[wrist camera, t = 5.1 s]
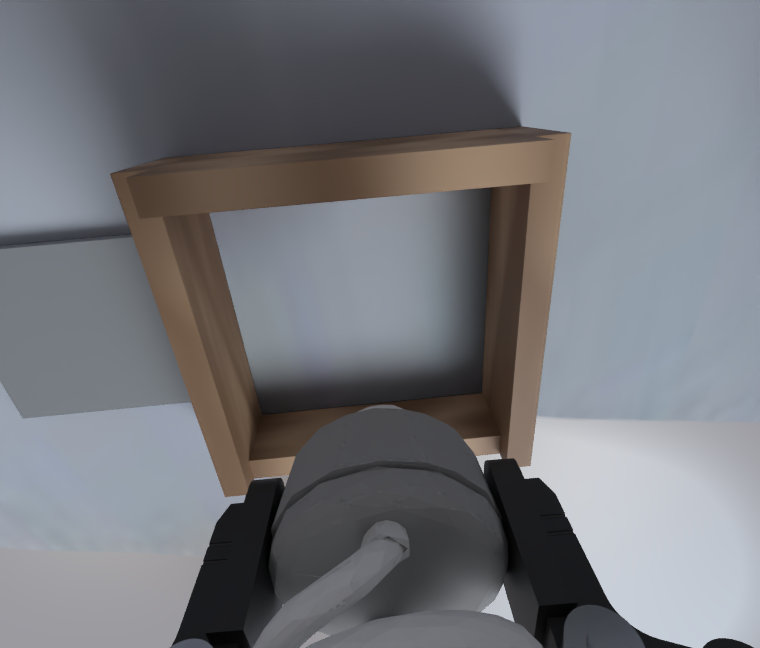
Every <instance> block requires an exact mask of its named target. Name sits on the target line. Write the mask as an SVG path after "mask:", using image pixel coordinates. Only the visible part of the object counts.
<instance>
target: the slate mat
mask: <svg viewBox="0 0 760 648" xmlns="http://www.w3.org/2000/svg"><path fill="white" fill-rule="evenodd" d="M0 381H1V383H2V385H3V386H4V388H5V390H6V391H7V393H8V395H9V396H10V398H11V400H12V401H13V403H14V405H15V406H16V408H17V409H18V411H19V413H20V414H21V416H22V418H32V417H42V416H53V415H63V414H73V413H83V412H93V411H104V410H114V409H124V408H134V407H144V406H155V405H165V404H175V403H185V402H191V400H190V397H189V394H188V391H187V388H186V386H185V383H184V380H183V377H182V374H181V372H180V369H179V366H178V363H177V360H176V358H175V355H174V352H173V349H172V346H171V344H170V341H169V338H168V335H167V332H166V329H165V327H164V324H163V321H162V318H161V315H160V313H159V310H158V307H157V304H156V301H155V299H154V296H153V293H152V290H151V287H150V285H149V282H148V279H147V276H146V273H145V271H144V268H143V265H142V262H141V259H140V256H139V254H138V251H137V248H136V245H135V242H134V240H133V237H132V234H126V235H115V236H104V237H93V238H82V239H71V240H60V241H49V242H38V243H27V244H16V245H5V246H0Z"/></svg>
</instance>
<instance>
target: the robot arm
mask: <svg viewBox="0 0 760 648" xmlns="http://www.w3.org/2000/svg"><path fill="white" fill-rule="evenodd" d="M484 477H485V479H486V481H487V483H488V486H489V488H490V490H491V493H492V495H493V497H494V499H495V502H496V504H497V506H498V509H499V511H500V514H501V516H502V526H503V529H504V532H505V535H506V538H507V542H508V568H507V573H506V576H505V580H504V583H503V584H504V587H505V590H506V594H507V597H508V600H509V604H510V607H511V610H512V614H513V618H514V621H515V623H517V624H519V625H522V626H523V627H524V628H525V629H526V630H527V631H528V632H529V633H530V634H531V635H532V636H533V637H534V638H535V639H536V640H537V641H538V642H539V643H540V644H541V645H542V646H543V648H691V647H687V646H683V645H679V644H675V643H672V642H668V641H664V640H660V639H657V638H654V637H651V636H649V635H647V634H645V633H642V632H641V631H639V630H637V629H636V628H634V627H633V626H632V625H630V624H629V623H628V622H627V621H626V620H625V619H624V618H622V617H621V616H620V615H619V614H618V613H617V612H616V611H615V609H614V608H613V607H612V606H611V604H610V603H609V601H608V599H607V597H606V595H605V594H604V592H603V589H602V587H601V585H600V583H599V581H598V579H597V577H596V575H595V573H594V571H593V569H592V567H591V565H590V563H589V561H588V559H587V557H586V555H585V553H584V551H583V549H582V547H581V545H580V543H579V541H578V539H577V537H576V535H575V534H574V533H573V529H572V527H571V525H570V523H569V521H568V519H567V517H565V513H564V511H563V509H562V507H561V504H560V503H559V501H558V499H557V496H556V494H555V493H554V492H553V491H552V490H551V489H550V488H549V487H548V486H547V485H546V484H545V483H544V482H542V480H541V479H539V478H531V479H524V477H523V475H522V472H521V470H520V468H519V465H518V463H517V461H516V460H515V459H514V458H510V459H498V460H487V461H485V464H484ZM284 489H285V487H284V483H283V480H282V479H281V478H275V479H263V480H253V481H251V483H250V485H249V488H248V491H247V494H246V498H245V501H244V503H237V504H231V505H230V506H229V507H228V509H227V510H226V511H225V512H224V514H223V515H222V516H221V518H220V519H219V520H218V521H217V523H216V526H215V529H214V532H213V534H212V537H211V540H210V543H209V544H210V546H209V547H208V549H207V552H206V554H205V557H204V560H203V561H204V563H203V565H202V566H201V569H200V572H199V574H198V577H197V580H196V583H195V586H194V589H193V591H192V594H191V597H190V600H189V603H188V606H187V609H186V612H185V614H184V617H183V620H182V623H181V626H180V629H179V631H178V634H177V636H176V639H175V641H174V642H173V644H172V646H171V647H170V648H253V646H254V645H255V643H256V641H257V640H258V638H259V636H260V635H261V633H262V631H263V630H264V628H265V627H266V626H267V624H268V623H269V622H270V621H271V620H272V618H273V617H274V616H275V615H276V614H277V612H278V611H279V610H280V609H281V608H282V605H283V603H282V602H281V601H280V599H279V598H278V597H277V596H276V594H275V591H274V588H273V584H272V580H271V576H270V571H269V567H268V565H269V558H270V551H271V544H272V533H271V528H272V525H273V522H274V519H275V516H276V513H277V510H278V507H279V504H280V501H281V498H282V495H283V492H284ZM703 648H753V647H751V646H750V645H747V644H745V643H743V642H740V641H736V640H733V639H726V638H719V639H714V640H711V641H710V642H708V643H707V644H706V645H705V646H704V647H703Z"/></svg>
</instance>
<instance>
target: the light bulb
mask: <svg viewBox="0 0 760 648" xmlns="http://www.w3.org/2000/svg"><path fill="white" fill-rule="evenodd" d="M271 533H272V544H271V551H270V558H269V565H268V567H269V571H270V576H271V580H272V584H273V588H274V591H275V594H276V596H277V597H278V598H279V599H280V601H281V602H282V603H283V604H284V605H283V606H282V608H281V609H280V610H279V611H278V612H277V614H276V615H275V616H274V617H273V618H272V620H271V621H270V622H269V623H268V624H267V626H266V627H265V628H264V630H263V631H262V633H261V635H260V636H259V638H258V640H257V641H256V643H255V645H254V646H253V648H299V647H300V646H301V645H302V644H303V643H304V642H306V640H308V639H309V638H310V637H311V636H312V635H313V634H315V633H316V632H317V631H319V632H322V633H324V634H327V635H330V637H327V638H325V639H323V640H320V641H318V642H315V643H313V644H311V645H309V646H308V647H306V648H543V646H542V645H541V644H540V643H539V642H538V641H537V640H536V639H535V638H534V637H533V636H532V635H531V634H530V633H529V632H528V631H527V630H526V629H525V628H524V627H523V626H522V625H519V624H517V623H515V622H512V621H510V620H507V619H505V618H503V617H500V616H497V615H493V614H487V613H481V611H482V610H484V609H485V607H487V606H488V605H489V604H490V603H492V602H493V601H494V600H495V598H496V596H497V594H498V593H499V591H500V588H501V587H502V585H503V583H504V580H505V576H506V573H507V568H508V542H507V538H506V535H505V532H504V529H503V526H502V516H501V514H500V511H499V509H498V506H497V504H496V502H495V499H494V497H493V495H492V493H491V490H490V488H489V486H488V483H487V481H486V479H485V477H484V474H483V472H482V470H481V467H480V465H479V463H478V461H477V458H476V456H475V454H474V452H473V451H472V450H471V448H470V447H469V446H468V445H467V443H466V442H465V441H464V440H463V439H462V437H461V436H460V435H459V434H458V432H457V431H456V430H455V429H454V428H452V427H450V426H449V425H447V424H446V423H444V422H441V421H439V420H437V419H435V418H433V417H431V416H429V415H426V414H423V413H419V412H414V411H409V410H405V409H402V408H399V407H397V406H395V405H376V406H370V407H367V408H365V409H363V410H360V411H358V412H356V413H352V414H348V415H345V416H343V417H341V418H339V419H337V420H335V421H333V422H331V423H329V424H327V425H325V426H323V427H322V428H320V429H318V430H317V432H316V433H315V434H314V435H313V436H312V437H311V438H310V440H309V441H308V442H307V443H306V444H305V445H304V446H303V447H302V449H301V450H300V451H299V452H298V453H297V454H296V456H295V459H294V462H293V465H292V468H291V471H290V474H289V478H288V480H287V483H286V486H285V489H284V492H283V495H282V498H281V501H280V504H279V507H278V510H277V513H276V516H275V519H274V522H273V525H272V528H271Z"/></svg>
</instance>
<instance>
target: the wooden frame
mask: <svg viewBox="0 0 760 648" xmlns="http://www.w3.org/2000/svg"><path fill="white" fill-rule="evenodd" d="M570 139H571V133H567V132H560V131H552V130H545V129H537V128H530V127H511V128H499V129H488V130H477V131H465V132H454V133H442V134H431V135H420V136H408V137H397V138H386V139H374V140H363V141H351V142H340V143H329V144H317V145H306V146H294V147H283V148H272V149H260V150H249V151H237V152H226V153H215V154H203V155H192V156H181V157H169V158H163V159H159V160H156V161H152V162H149V163H145V164H142V165H139V166H135V167H132V168H128V169H125V170H121V171H118V172H114V173H111V174H110V175H111V178H112V181H113V183H114V186H115V189H116V192H117V195H118V198H119V200H120V203H121V206H122V209H123V212H124V214H125V217H126V220H127V223H128V226H129V228H130V231H131V234H132V237H133V240H134V242H135V245H136V248H137V251H138V254H139V256H140V259H141V262H142V265H143V268H144V271H145V273H146V276H147V279H148V282H149V285H150V287H151V290H152V293H153V296H154V299H155V301H156V304H157V307H158V310H159V313H160V315H161V318H162V321H163V324H164V327H165V329H166V332H167V335H168V338H169V341H170V344H171V346H172V349H173V352H174V355H175V358H176V360H177V363H178V366H179V369H180V372H181V374H182V377H183V380H184V383H185V386H186V388H187V391H188V394H189V397H190V400H191V403H192V405H193V408H194V411H195V414H196V417H197V419H198V422H199V425H200V428H201V431H202V433H203V436H204V439H205V442H206V445H207V447H208V450H209V453H210V456H211V459H212V461H213V464H214V467H215V470H216V473H217V476H218V478H219V481H220V484H221V487H222V490H223V492H224V495H225V497H229V496H239V495H246V494H247V491H248V488H249V485H250V483H251V481H253V480H254V478H262V477H272V476H281V475H289V474H290V471H291V468H292V465H293V462H294V459H295V456H296V454H297V453H298V452H299V451H300V450H301V449H302V447H303V446H304V445H305V444H306V443H307V442H308V441H309V440H310V438H311V437H312V436H313V435H314V434H315V433H316V432H317V430H318V429H320V428H322V427H323V426H325V425H327V424H329V423H331V422H333V421H335V420H337V419H339V418H341V417H343V416H345V415H348V414H352V413H356V412H358V411H360V410H363V409H365V408H367V407H370V406H376V405H395V406H397V407H399V408H402V409H405V410H409V411H414V412H419V413H423V414H426V415H429V416H431V417H433V418H435V419H437V420H439V421H441V422H444V423H446V424H447V425H449V426H450V427H452V428H454V429H455V430H456V431H457V432H458V434H459V435H460V436H461V437H462V439H463V440H464V441H465V442H466V443H467V445H468V446H469V447H470V448H471V450H472V451H473V452H474V454H475V456H479V455H488V454H498V453H500V455H501V457H502V459H510V458H514V459H515V460H516V461H517V463H518V465H519V467H523V466H530V464H531V456H532V447H533V440H534V431H535V422H536V415H537V407H538V399H539V391H540V383H541V375H542V367H543V358H544V350H545V342H546V334H547V326H548V318H549V310H550V302H551V293H552V285H553V277H554V269H555V261H556V253H557V245H558V236H559V228H560V220H561V212H562V204H563V196H564V188H565V179H566V171H567V163H568V155H569V147H570ZM488 187H491V205H490V227H489V249H488V272H487V294H486V316H485V339H484V361H483V383H482V393H478V394H468V395H458V396H448V397H438V398H428V399H418V400H408V401H397V402H387V403H377V404H367V405H357V406H347V407H337V408H326V409H316V410H306V411H296V412H286V413H276V414H266V415H262V413H261V409H260V405H259V401H258V397H257V394H256V390H255V386H254V382H253V378H252V375H251V371H250V367H249V363H248V359H247V356H246V352H245V348H244V344H243V340H242V337H241V333H240V329H239V325H238V321H237V318H236V314H235V310H234V306H233V302H232V299H231V295H230V291H229V287H228V283H227V280H226V276H225V272H224V268H223V264H222V261H221V257H220V253H219V249H218V245H217V242H216V238H215V234H214V230H213V226H212V223H211V219H210V215H209V213H211V212H222V211H233V210H244V209H255V208H266V207H277V206H288V205H299V204H310V203H321V202H333V201H344V200H355V199H366V198H377V197H388V196H399V195H410V194H421V193H432V192H443V191H454V190H466V189H477V188H488Z"/></svg>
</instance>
